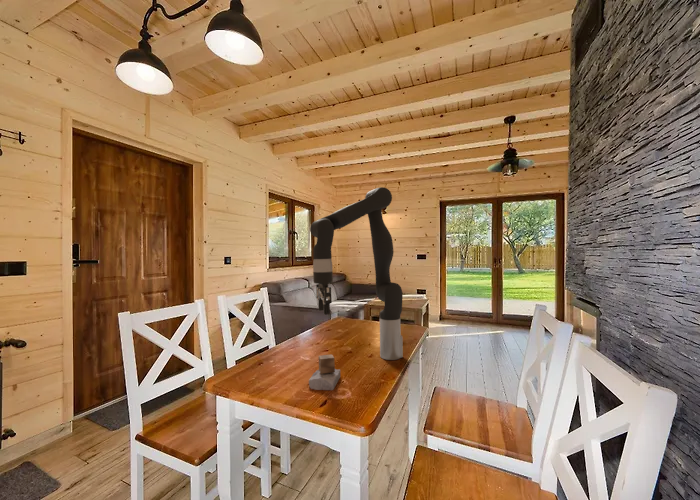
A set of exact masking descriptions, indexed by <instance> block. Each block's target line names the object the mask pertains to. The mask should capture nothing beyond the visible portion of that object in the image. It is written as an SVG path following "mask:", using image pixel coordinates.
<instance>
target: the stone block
mask: <svg viewBox="0 0 700 500" xmlns="http://www.w3.org/2000/svg"><path fill="white" fill-rule="evenodd" d="M340 379H341V369H336V368H335V372H332V373H324V374H321V373H320V371H319V369H317V370H315V372H313V374H312V375H311V377H310V378H309V379H308V385H309V386H308V387H309V389H311V390H315V391H322V390H323V391H334V389H335V388H336V385H337V384H338V382H339V381H340Z"/></svg>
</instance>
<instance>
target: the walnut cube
mask: <svg viewBox="0 0 700 500" xmlns="http://www.w3.org/2000/svg"><path fill="white" fill-rule="evenodd" d="M335 369H336V367H335V357H334V355H333V354H323V355H318V370H319V371H320V373H321V374H324V373H332V372H335Z"/></svg>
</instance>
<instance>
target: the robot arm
mask: <svg viewBox="0 0 700 500" xmlns="http://www.w3.org/2000/svg"><path fill="white" fill-rule="evenodd" d="M392 200H393V195H392V192H391V191H390V189H389V188H387V187H383V186H382V187H381V186H380V187H376V188H374V189H371V190H369V191H368V192H366V194H365V197H364V199H361V200H358V201H356V202H354V203H351V204H349V205H347V206H344V207H342V208H340V209H338V210H336V211H333V212H332V213H331V214H329V215H328V214H327V216H324V217H321V218H319V219H317V220H314V221H313V222H312V223H311V225H310V227H309V231H310V234H311V235H312V236H313V237H314V238H317V239H316V244H314V245H313V262H312V269H313V270H312V272H313V273H312V274H313V275H312V276H313V279H312V281H313V283H314V284H316V285H315V286H316V289H315V290H316V294H315V295H316V299H317V300H316V301H317V302H318V303H317V304H318V311H323V315H326V316H327V315H330V314H331V304H333V303H332V302H333V301H332V300H333V299H332V287H331V286H329V284H331V283H333V281H334V280H333V279H334V277H333V276H334V273H333V259H332V258H333V257H332V246H333V241H334V235H335V231H336V230H340V229H342V228H344V227H346V226H348V225H350V224H351V223H353V222H356V221H357V220H359V219H360V218H362V217H364V216H366V215H367V217H368V222H369V228H370V236H371V246H372V247H371V248H372V254H373V261H374V272H375V294H376V297H377V298H378V300H379V301H382V302H384V307H383V309H382V310H381V311H379V356H380V358H382V359H383V360H387V361H396V360H400V359H401V358H404V357H403V355H404V354H403V353H404V351H403V345H404V344H403V343H404V341H403V340H404V338H403V335H402V334H401V331H402V330H401V329H402V328H401V314H402V311H403V297H404V296H403V289H402V287H401V285H400V284H398V283H397V282H392V281H391V276H390V274H391V273H390V270H391V264H392V261H393V257H394V252H395V251H394V243H393V238H392V234H391V233H390V231H389V228H388V227H387V226H386V224H385V222H384V219H383V218H384V217H383V212H382V211H383V210H382V209H386V208H387V207H389V206H390V204H391V203H392Z"/></svg>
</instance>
